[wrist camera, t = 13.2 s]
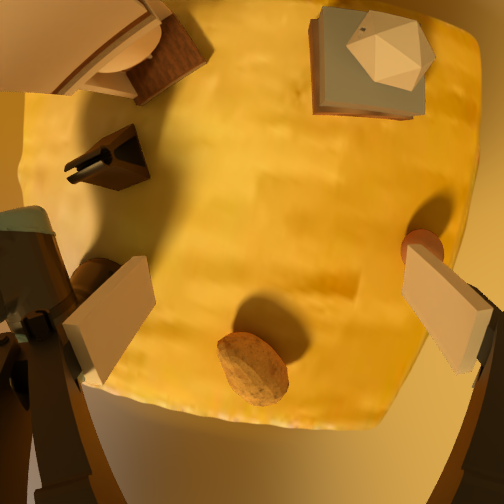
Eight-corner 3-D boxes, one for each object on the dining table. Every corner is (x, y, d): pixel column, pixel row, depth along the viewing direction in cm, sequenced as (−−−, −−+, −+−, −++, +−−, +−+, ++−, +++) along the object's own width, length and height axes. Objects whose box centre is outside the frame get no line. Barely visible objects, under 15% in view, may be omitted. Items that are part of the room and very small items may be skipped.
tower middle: (319, 105, 35) (324, 100, 30) (318, 20, 31) (322, 6, 26) (409, 116, 34) (425, 114, 29) (406, 34, 30) (420, 23, 25)
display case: (142, 106, 41) (-73, 94, 8) (114, 56, 38) (-75, 9, 5) (206, 63, 38) (42, -62, 5) (174, 14, 35) (22, -108, 2)
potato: (240, 382, 57) (233, 419, 48) (217, 322, 52) (204, 357, 43) (292, 375, 55) (292, 413, 46) (275, 312, 50) (273, 347, 42)
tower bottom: (312, 114, 40) (316, 111, 35) (308, 31, 35) (310, 19, 31) (400, 120, 38) (413, 119, 34) (394, 39, 34) (406, 29, 29)
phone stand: (150, 178, 45) (111, 192, 33) (119, 190, 46) (75, 207, 34) (134, 123, 42) (90, 122, 31) (103, 138, 43) (56, 142, 32)
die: (392, 20, 26) (359, -15, 19) (452, 59, 23) (437, 26, 16) (359, 68, 31) (319, 46, 25) (415, 110, 28) (389, 94, 22)
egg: (401, 219, 43) (422, 235, 35) (435, 228, 43) (459, 245, 35) (389, 258, 45) (407, 281, 38) (422, 265, 45) (444, 288, 37)
